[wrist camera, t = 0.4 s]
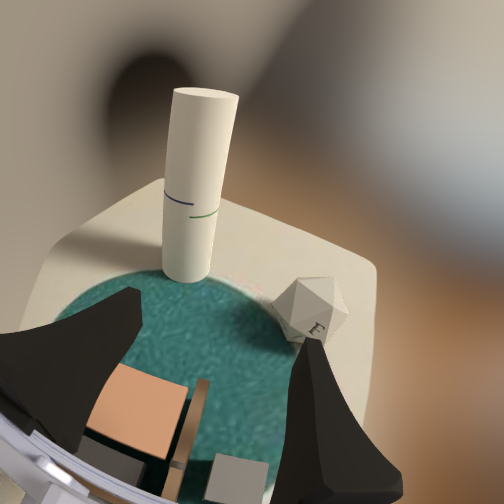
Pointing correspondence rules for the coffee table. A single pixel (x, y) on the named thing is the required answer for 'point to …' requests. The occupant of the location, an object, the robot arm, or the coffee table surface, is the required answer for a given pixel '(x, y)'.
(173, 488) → the frame
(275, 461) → the coffee table surface
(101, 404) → the trapdoor
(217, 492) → the stone
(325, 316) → the die
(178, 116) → the cylindrical container
